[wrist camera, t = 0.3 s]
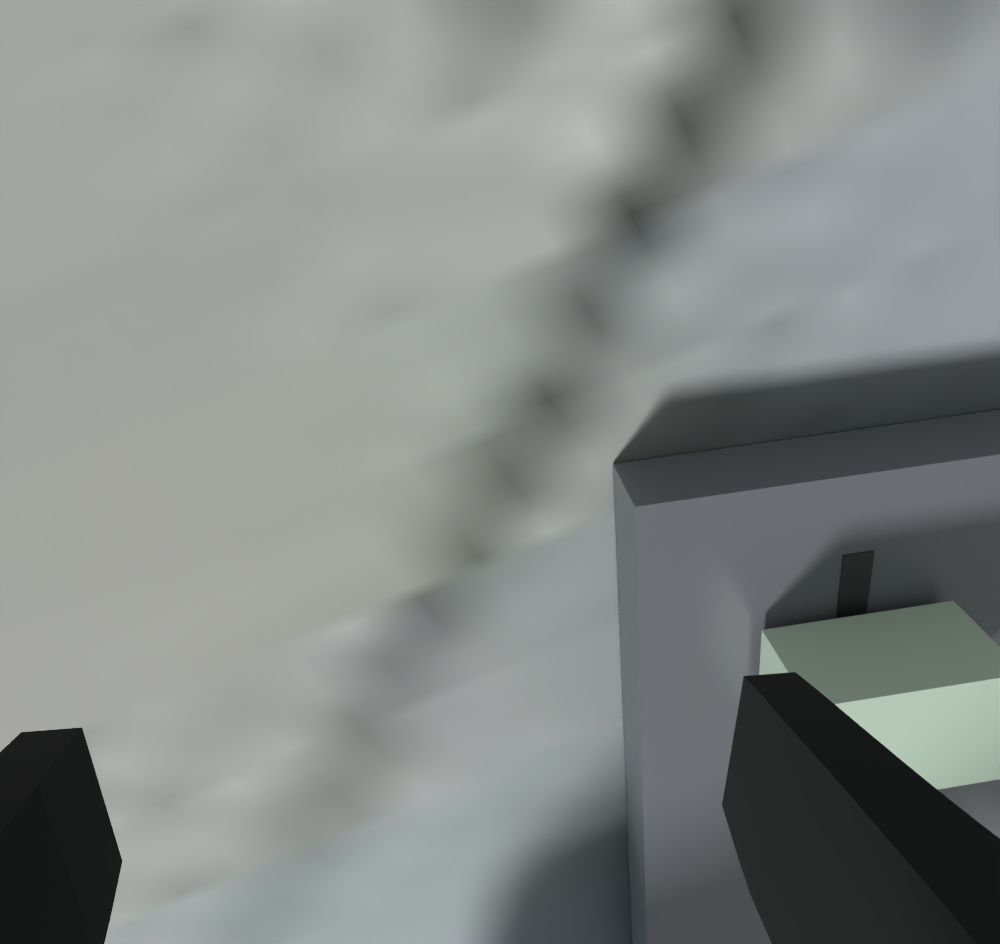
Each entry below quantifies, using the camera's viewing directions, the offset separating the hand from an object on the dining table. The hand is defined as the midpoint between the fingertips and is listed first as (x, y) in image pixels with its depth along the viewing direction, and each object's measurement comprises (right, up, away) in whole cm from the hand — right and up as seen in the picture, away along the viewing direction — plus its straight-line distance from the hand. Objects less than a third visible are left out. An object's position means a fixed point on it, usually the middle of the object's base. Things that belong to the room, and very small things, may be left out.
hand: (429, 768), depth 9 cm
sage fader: (+9, -1, +10) cm, 14 cm away
